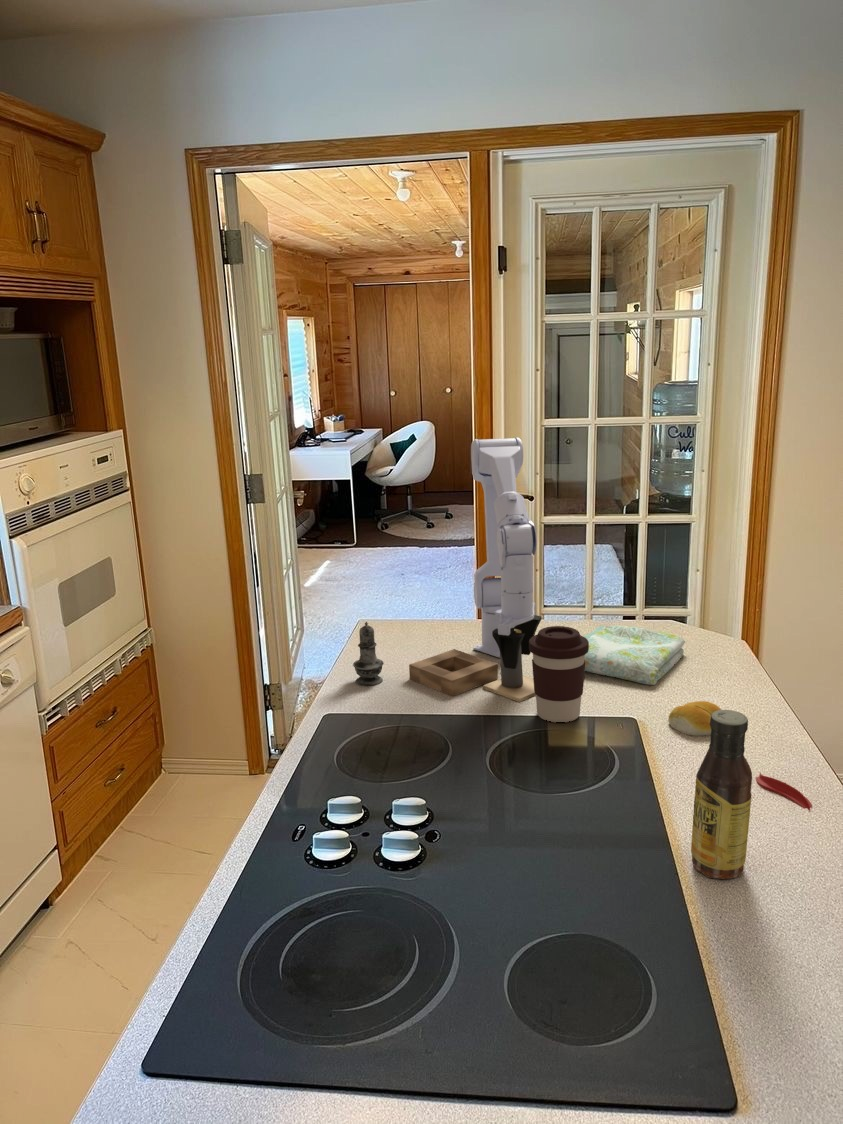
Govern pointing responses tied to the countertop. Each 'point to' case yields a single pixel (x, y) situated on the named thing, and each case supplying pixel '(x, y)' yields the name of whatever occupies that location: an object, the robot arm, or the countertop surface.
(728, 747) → the sauce bottle
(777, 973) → the countertop surface
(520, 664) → the plug
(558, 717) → the coffee cup
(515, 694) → the coaster
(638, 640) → the towel
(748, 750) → the countertop surface
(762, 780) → the cayenne pepper
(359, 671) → the salt shaker
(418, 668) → the wooden square frame
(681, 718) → the bread roll
